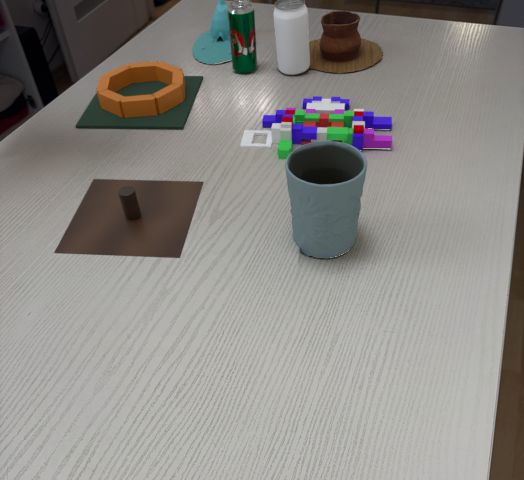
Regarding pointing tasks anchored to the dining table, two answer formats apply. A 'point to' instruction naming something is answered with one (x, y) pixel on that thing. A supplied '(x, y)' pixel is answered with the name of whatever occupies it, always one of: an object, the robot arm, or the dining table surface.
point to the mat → (166, 120)
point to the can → (292, 36)
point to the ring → (141, 103)
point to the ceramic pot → (342, 45)
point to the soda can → (242, 36)
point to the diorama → (215, 38)
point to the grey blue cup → (325, 196)
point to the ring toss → (132, 218)
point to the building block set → (320, 126)
